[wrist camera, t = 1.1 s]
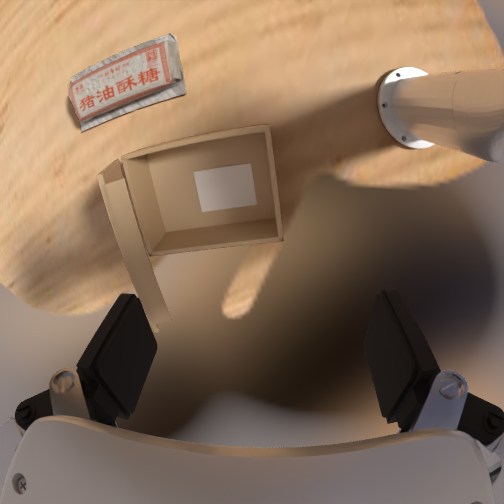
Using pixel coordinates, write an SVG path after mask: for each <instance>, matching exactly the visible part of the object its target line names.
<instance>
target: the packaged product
mask: <svg viewBox="0 0 504 504" xmlns="http://www.w3.org/2000/svg"><path fill="white" fill-rule="evenodd" d="M71 82H72V83H71V84H69V98H70V100H71V102H72V105H73V107H74V109H75V114H76V116H77V117H78V119H79V123H80V125H81V129H82V131H84V130H87V129H89V128H92V127H94V126H97V125H99V124H102V123H104V122H106V121H108V120H110V119H113V118H115V117H118V116H120V115H123V114H125V113H128V112H131V111H134V110H138V109H140V108H143V107H146V106H148V105H151V104H154V103H158V102H161V101H165V100H167V99H170V98H173V97H176V96H180V95H184V94H187V93H186V86H185V80H184V74H183V69H182V65H181V60H180V55H179V48H178V42H177V36H175V35H173V34H171V33H170V34H167V35H165V36H161V37H159V38H156V39H153V40H150V41H147V42H145V43H142V44H140V45H137V46H134V47H132V48H130V49H127V50H124V51H122V52H120V53H118V54H116V55H113V56H111V57H109V58H107V59H105V60H103V61H101V62H99V63H97V64H95V65H93V66H91V67H89V68H87V69H85V70H83V71H82V72H79V73H78V74H76V75H75V76H72V77H71ZM82 131H81V132H82Z"/></svg>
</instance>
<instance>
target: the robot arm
mask: <svg viewBox="0 0 504 504" xmlns="http://www.w3.org/2000/svg"><path fill="white" fill-rule="evenodd" d="M396 75H397V76H396ZM383 104H384V107H383ZM378 109H379V114H380V117H381V120H382V122H383V124H384V126H385V128H386V129H387V131H388V132H389V133H390V134H391V136H392V137H393V138H394V139H396V140H397V141H398V142H400V143H401V144H403V145H405V146H408V147H411V148H415V149H425V148H429V147H431V146H433V145H435V144H438V145H441V146H444V147H448V148H451V149H454V150H457V151H460V152H463V153H466V154H469V155H472V156H475V157H477V158H480V159H483V160H486V161H489V162H495V163H500V162H504V69H491V70H470V71H455V72H444V73H434V74H427V73H426V72H424V71H422V70H420V69H416V68H413V67H404V68H399V69H396V70H394V71H392V72H390V73H389V74H388V75H387V76H386V77H385V78H384V80H383V81H382V83H381V85H380V88H379V91H378ZM401 138H402V139H401ZM156 351H157V342H156V340H155V337H154V335H153V332H152V330H151V328H150V325H149V322H148V320H147V317H146V314H145V312H144V309H143V306H142V303H141V301H140V299H139V298H137V297H136V295H135V294H121V295H120V296H119V297H118V299H117V300H116V302H115V303H114V305H113V306H112V308H111V309H110V311H109V312H108V314H107V316H106V317H105V319H104V320H103V322H102V323H101V325H100V327H99V328H98V330H97V331H96V333H95V335H94V336H93V338H92V340H91V341H90V343H89V345H88V346H87V348H86V350H85V351H84V353H83V355H82V356H81V358H80V360H79V362H78V363H77V367H78V368H77V370H76V371H75V370H74V369H72V368H64V369H61V370H59V371H57V372H56V373H55V374H54V375H53V376H52V378H51V380H50V383H49V389H48V390H46V391H44V392H42V393H40V394H38V395H35V396H33V397H31V398H29V399H27V400H25V401H23V402H21V403H20V404H19V405H18V407H17V409H16V412H15V419H14V418H13V417H11V418H10V419H9V420H8V421H6V422H5V423H4V424H3V425H2V426H1V427H0V480H1V482H2V484H3V490H2V493H1V496H0V504H504V412H503V411H502V409H500V408H499V407H498V406H495V405H493V404H491V403H489V402H487V401H485V400H483V399H481V398H479V397H477V396H475V395H473V394H471V393H468V385H467V382H466V380H465V378H464V377H463V376H462V375H461V374H459V373H458V372H456V371H452V370H445V371H442V372H441V370H440V368H439V366H438V364H437V362H436V360H435V358H434V355H433V353H432V351H431V349H430V347H429V345H428V343H427V341H426V339H425V337H424V335H423V333H422V331H421V329H420V327H419V325H418V324H417V322H416V321H415V320H414V319H413V318H412V316H411V314H410V312H409V310H408V308H407V306H406V305H405V303H404V301H403V299H402V298H401V296H400V294H399V292H398V291H397V290H396V289H384V290H382V291H381V293H380V294H377V296H376V299H375V303H374V308H373V311H372V315H371V319H370V323H369V326H368V330H367V333H366V337H365V340H364V351H365V354H366V358H367V361H368V364H369V368H370V372H371V375H372V379H373V382H374V386H375V390H376V394H377V398H378V402H379V406H380V410H381V413H382V416H383V417H386V419H387V423H388V424H389V423H393V422H398V426H399V428H400V429H399V430H398V432H397V434H393V435H388V436H384V437H379V438H372V439H366V440H360V441H353V442H346V443H338V444H330V445H319V446H306V447H281V448H280V447H279V448H257V447H254V448H253V447H233V446H219V445H208V444H200V443H192V442H185V441H178V440H171V439H166V438H160V437H155V436H150V435H146V434H141V433H137V432H132V431H128V430H124V429H120V428H118V427H117V425H116V422H115V420H116V417H119V418H123V419H129V416H130V414H132V413H133V412H134V410H135V407H136V405H137V402H138V399H139V396H140V394H141V391H142V388H143V386H144V383H145V380H146V377H147V375H148V372H149V370H150V367H151V364H152V361H153V359H154V356H155V354H156Z"/></svg>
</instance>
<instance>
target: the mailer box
mask: <svg viewBox="0 0 504 504" xmlns="http://www.w3.org/2000/svg"><path fill="white" fill-rule="evenodd" d="M121 158H122V163H123V167H124V171H125V175H126V179H127V183H128V187H129V190H130V194H131V198H132V201H133V205H134V209H135V212H136V215H137V219H138V222H139V225H140V229H141V232H142V235H143V238H144V241H145V244H146V247H147V250H148V253H149V256H157V255H166V254H174V253H182V252H190V251H199V250H208V249H216V248H225V247H234V246H242V245H251V244H260V243H269V242H278V241H284V240H283V230H282V221H281V212H280V203H279V195H278V186H277V178H276V170H275V162H274V154H273V147H272V140H271V132H270V126H269V124H264V125H256V126H249V127H242V128H235V129H229V130H223V131H217V132H212V133H206V134H201V135H196V136H191V137H187V138H182V139H178V140H173V141H169V142H165V143H161V144H157V145H153V146H149V147H146V148H142V149H139V150H137V151H134V152H131V153H128V154H126V155H123V156H121Z"/></svg>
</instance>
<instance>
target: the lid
mask: <svg viewBox="0 0 504 504" xmlns="http://www.w3.org/2000/svg"><path fill="white" fill-rule="evenodd" d="M97 178H98V182H99V186H100V189H101V193H102V196H103V200H104V203H105V207H106V210H107V213H108V216H109V219H110V222H111V225H112V229H113V231H114V234H115V237H116V240H117V243H118V246H119V249H120V251H121V254H122V257H123V259H124V262H125V265H126V267H127V270H128V272H129V275H130V277H131V280H132V282H133V285H134V287H135V289H136V292H137V294H138V297H139V299H140V301H141V303H142V306H143V308H144V310H145V312H146V315H147V317H148V319H149V321H150V323H151V325H152V327H153V329H154V331H155V333H156V332H159V327H158V324H160V323H163V322H166V321H169V320H171V316H170V314H169V311H168V309H167V306H166V304H165V301H164V299H163V296H162V294H161V291H160V288H159V286H158V283H157V280H156V278H155V275H154V272H153V269H152V266H151V264H150V261H149V258H148V255H147V252H146V249H145V246H144V243H143V240H142V237H141V233H140V230H139V227H138V224H137V221H136V217H135V214H134V210H133V207H132V203H131V200H130V196H129V193H128V189H127V185H126V181H125V178H123V174H122V170H121V166H120V162H119V159H117V160H115V161H114V162H112V163H111V164H110V165H109V166H107V167H106V168H105V169H104V170H103V171H101V172H100V173H99V174H98V175H97Z"/></svg>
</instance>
